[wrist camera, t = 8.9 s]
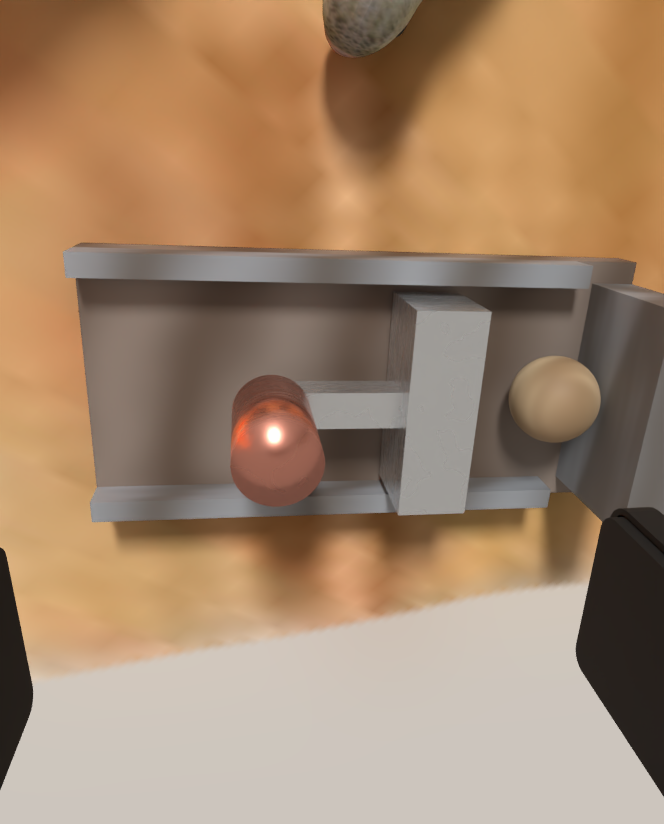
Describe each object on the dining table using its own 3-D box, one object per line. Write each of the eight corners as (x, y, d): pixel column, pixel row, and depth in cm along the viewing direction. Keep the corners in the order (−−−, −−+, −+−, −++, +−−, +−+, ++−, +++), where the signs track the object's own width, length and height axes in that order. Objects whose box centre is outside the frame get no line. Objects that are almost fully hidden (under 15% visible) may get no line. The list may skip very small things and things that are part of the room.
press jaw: (458, 292, 28) (536, 337, 21) (437, 472, 31) (498, 566, 24) (231, 288, 27) (228, 334, 19) (233, 477, 30) (232, 579, 23)
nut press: (618, 258, 31) (729, 285, 24) (573, 478, 35) (656, 556, 28) (81, 242, 27) (26, 269, 20) (104, 490, 31) (66, 582, 24)
